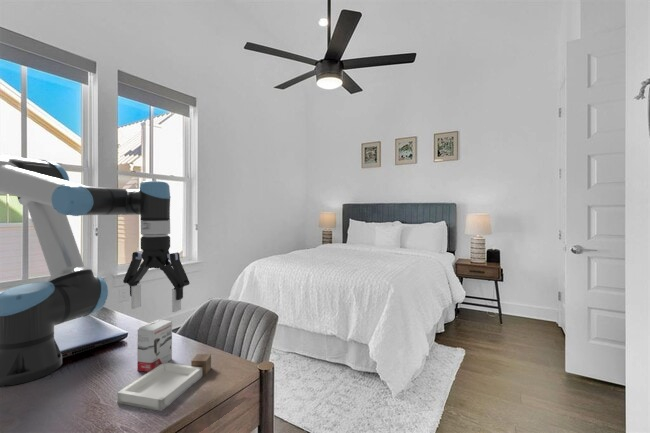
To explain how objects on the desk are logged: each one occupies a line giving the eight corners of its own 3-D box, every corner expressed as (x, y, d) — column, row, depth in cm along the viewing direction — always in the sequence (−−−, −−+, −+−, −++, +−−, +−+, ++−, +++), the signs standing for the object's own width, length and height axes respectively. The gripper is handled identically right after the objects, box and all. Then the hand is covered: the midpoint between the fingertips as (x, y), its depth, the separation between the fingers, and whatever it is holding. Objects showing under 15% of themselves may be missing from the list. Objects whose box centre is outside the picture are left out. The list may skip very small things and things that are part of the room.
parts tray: (117, 403, 73) (117, 392, 73) (164, 371, 88) (164, 362, 88) (161, 411, 71) (161, 400, 71) (202, 376, 85) (202, 367, 85)
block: (191, 375, 86) (191, 360, 86) (196, 368, 90) (196, 354, 90) (206, 375, 86) (206, 360, 86) (211, 368, 90) (211, 354, 90)
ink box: (151, 373, 87) (151, 330, 86) (136, 371, 88) (136, 329, 87) (173, 358, 95) (173, 320, 95) (158, 357, 96) (158, 318, 96)
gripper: (108, 235, 90) (109, 309, 90) (185, 237, 84) (185, 316, 85) (130, 233, 97) (130, 302, 98) (202, 235, 92) (202, 308, 92)
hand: (156, 309), depth 91 cm, fingers open, 13 cm apart
